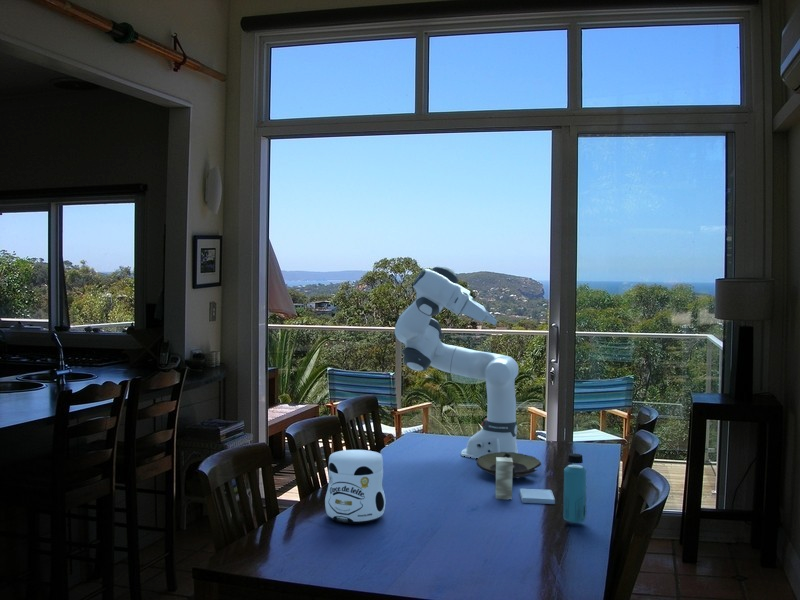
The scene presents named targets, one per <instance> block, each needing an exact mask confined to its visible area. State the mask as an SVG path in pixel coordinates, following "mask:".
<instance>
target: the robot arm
mask: <svg viewBox="0 0 800 600" xmlns="http://www.w3.org/2000/svg"><path fill="white" fill-rule="evenodd" d="M458 283H459V279H458V276H457V273H456V271H454V269H453V268H451V267H449V266H447V265H437V266H435V267H433V268H432V269H429V268H423V269H422V270H421V271H419V273H418V274H417V276H416V277H415V279H414V280H413V284H412V287H413V289H414V290H415V291H416V299H415V300H414V301H413V302H412V303H411V304H410V305H409V306H408V307H407V308H406V309H405V310H404V311H403V312H402V313H401V314H400V316H399V317H398V318H397V321H396V323H395V327H394V336H395V337H396V339H397V341H399V342H400V343H402V344H404V349H403V350H402V354H403V361H404V363H405V365H406V367H407V368H409V369H411V370H413V371H417V372H425V371H427V369H429V367H430V366H431V367H432V368H435V369H437V370H439V371H442V372H444V373H448V374H452V375H456V376H460V377H464V378H469V379H475V380H476V379H477V380H484V381H485V388H486V397H487V398H486V399H487V400H486V401H487V408H486V409H487V413H486V414H487V415H486V418H484V419H483V420H482V422H481V429H480V430H479V431H477V432H475V433H474V434H473V435H471V437H470V438H469V439H468V441H467V445H466V447H465V448H463V449H462V450H461V452H460V455H461V456H462V457H464V456H465V458H470V457H471V458H470V459H476V458H479V457H481V456H483V455H486V454H491V453H499V452H514V453H519V450H518V445H517V433H518V424H517V423H518V422H517V399H516V386H515V385H516V384H515V382H516V381H515V379H516V378H517V377H518V375H519V364H518V363H517V361H516V360H515V359H514V358H513V357H512V356H509V355H506V354H505V355H504V354H499V353H495V352H494V353H493V352H487V351H481V350H475V349H470V348H466V347H462V346H457V345H454V344H453V345H452V344H446V343H444V342H442V341H441V339H443V338H444V334H443V332H442V326H441V324H440V323H439V321H438V320H437V319H435V318H432V317H434V316H437V315H439V313H441V312H442V311H443V309H444V308H445V309H446V310H449V311H450V312H452V313H454V314H455V315H458V314H463V315H464V316H467V317H469V318H471V319H474V320H475V321H478V322H483V321H485V322H487V323H489V324H491V325H493V326H496V325H497V323H498V320H497V317H496V316H495V315H494V314H491V313H490V312H489V311H488V310H486V308H485V306H484V305H482V304H481V303H479V302H477V301H475V300H474V299H473V298H474V297H473V296H471V295H470V294H471V291H470V290H468V289H467V288H465V287H463V286H462V285H460V284H458ZM504 458H507V457H504Z"/></svg>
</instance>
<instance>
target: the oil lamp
mask: <svg viewBox="0 0 800 600" xmlns="http://www.w3.org/2000/svg"><path fill="white" fill-rule="evenodd" d="M496 457H503V458H504V457H507V458H512V461H513V474H512V480H513V479H515V478H522V477H525V476H528V475H530V474H533V473H535V472H537V471H538V469H537V468H538V467H540V466H541V465H542V462H541V461H540V460H539V459H538V458H537V457H535V456H532V455H530V454H529V455H527V454H524V453H520V452H518V453H514V452H499V453H491V454H486V455H483V456H481V457H479V458H478V459H476V466H477V467H478V468H479V469H481V470H483V471H484V472H486V473H488V474H490V475H493V476H495V477H496Z"/></svg>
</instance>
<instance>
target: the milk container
mask: <svg viewBox="0 0 800 600" xmlns="http://www.w3.org/2000/svg"><path fill="white" fill-rule="evenodd" d="M383 460H384V458H383V455H382V453H379V452H377V451H372V450H368V449H367V450H366V449H344V450H339V451H335V452H332V453H331V454H330V455H329V457H328V486H327V489H326V490H327V491H326V494H325V499H324V507H325V512H326V514H327V516H328V517H329V518H330V519H332V520H333V521H335V522H339V523H344V524H350V525H352V524H354V525H355V524H356V525H357V524H366V523H367V524H368V523H371V522H374V521H376V520H379V519H380V518H382V516H383V515H384V512H385V510H386V501H387V500H386V495H385V492H384V484H383V482H384V480H383V477H384V468H383V467H384V463H383V462H384V461H383Z"/></svg>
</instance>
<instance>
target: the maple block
mask: <svg viewBox="0 0 800 600" xmlns="http://www.w3.org/2000/svg"><path fill="white" fill-rule="evenodd" d="M512 474H513V461H512V458H503V457H496V476H495V494H494V495H495V499H496V500H509V499H511V500H513V479H512Z"/></svg>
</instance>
